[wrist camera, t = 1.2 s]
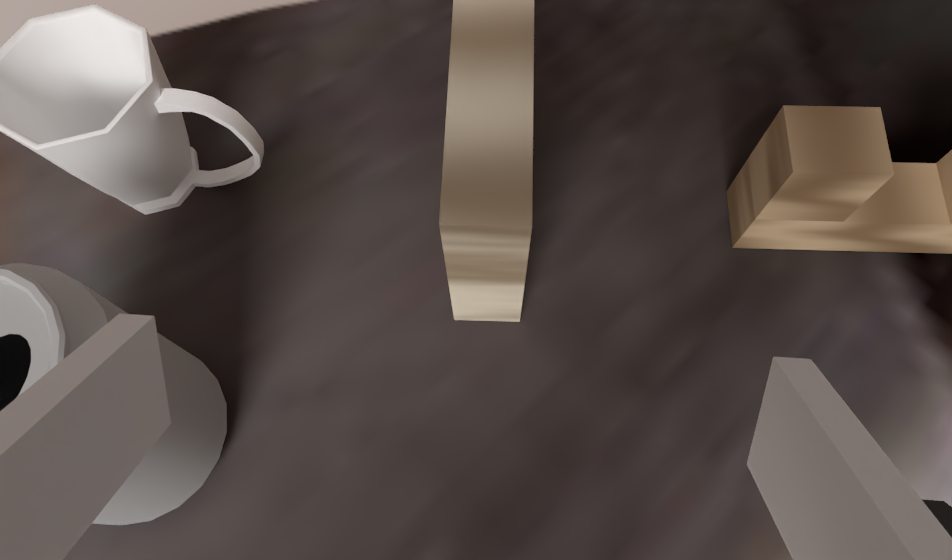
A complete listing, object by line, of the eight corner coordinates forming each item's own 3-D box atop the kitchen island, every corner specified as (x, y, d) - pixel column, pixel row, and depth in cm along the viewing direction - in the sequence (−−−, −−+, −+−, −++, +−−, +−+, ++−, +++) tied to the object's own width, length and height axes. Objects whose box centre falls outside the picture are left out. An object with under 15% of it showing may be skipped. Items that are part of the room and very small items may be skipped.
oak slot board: (977, 197, 33) (1097, 111, 27) (992, 254, 32) (1121, 179, 25) (726, 191, 33) (783, 105, 27) (732, 247, 32) (793, 172, 26)
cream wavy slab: (519, 321, 31) (532, 226, 22) (454, 319, 31) (439, 223, 22) (523, 102, 36) (534, -55, 26) (465, 101, 36) (456, -56, 26)
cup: (113, 111, 36) (13, -5, 28) (299, 128, 35) (247, 15, 28) (68, 231, 33) (-55, 140, 26) (268, 252, 33) (202, 165, 25)
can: (185, 551, 28) (-17, 553, 17) (27, 491, 29) (-263, 455, 18) (263, 380, 31) (132, 283, 19) (115, 329, 32) (-90, 210, 20)
